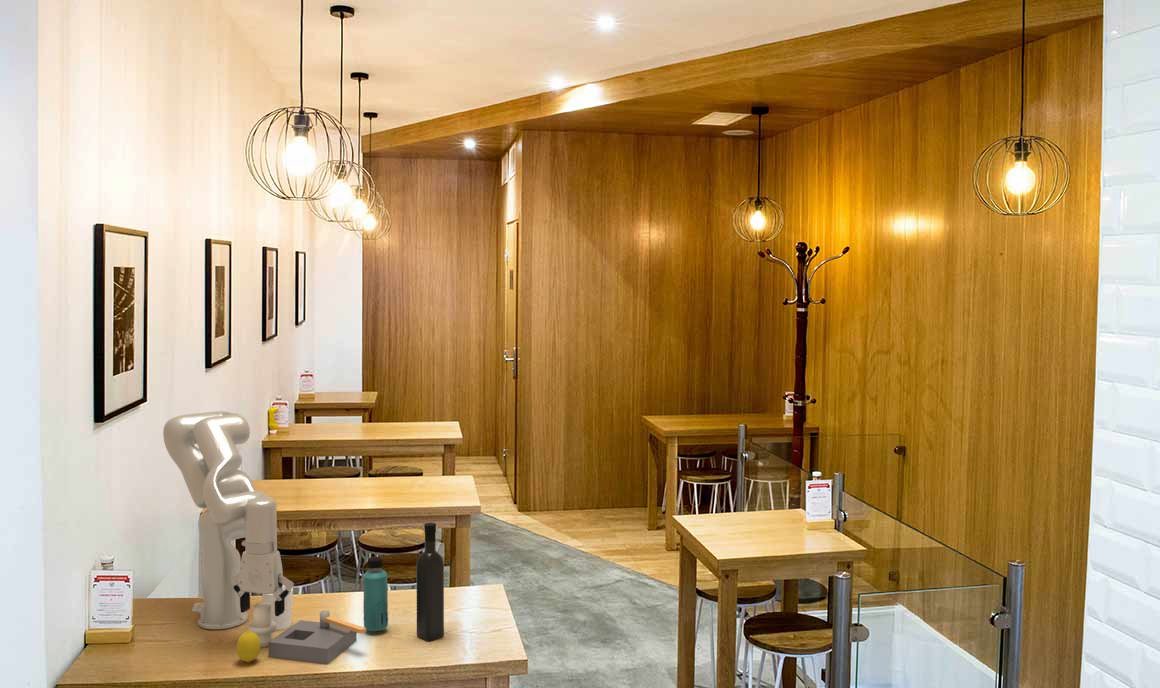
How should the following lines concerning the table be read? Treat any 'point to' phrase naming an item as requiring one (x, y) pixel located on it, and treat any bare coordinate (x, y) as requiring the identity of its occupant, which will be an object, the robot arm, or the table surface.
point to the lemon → (248, 646)
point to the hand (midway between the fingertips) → (262, 612)
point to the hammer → (338, 623)
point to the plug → (262, 623)
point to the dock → (311, 642)
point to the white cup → (284, 618)
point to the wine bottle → (430, 589)
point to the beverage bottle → (375, 596)
